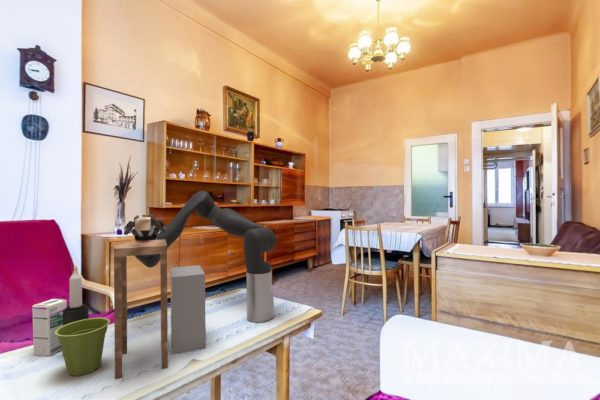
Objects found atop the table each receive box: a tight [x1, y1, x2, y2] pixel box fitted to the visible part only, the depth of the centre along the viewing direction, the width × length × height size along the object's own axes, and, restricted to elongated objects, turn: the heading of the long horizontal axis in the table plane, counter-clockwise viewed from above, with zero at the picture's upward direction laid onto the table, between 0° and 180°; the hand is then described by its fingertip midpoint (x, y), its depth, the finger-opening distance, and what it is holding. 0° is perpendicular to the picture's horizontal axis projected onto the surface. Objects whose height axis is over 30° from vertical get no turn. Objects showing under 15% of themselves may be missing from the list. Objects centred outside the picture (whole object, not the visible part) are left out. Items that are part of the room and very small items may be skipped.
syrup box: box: [31, 298, 68, 357], centre depth 91 cm, size 6×6×14 cm
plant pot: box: [55, 317, 111, 377], centre depth 81 cm, size 12×12×11 cm
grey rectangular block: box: [169, 264, 207, 355], centre depth 97 cm, size 9×14×22 cm, turn 25°
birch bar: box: [134, 216, 151, 231], centre depth 98 cm, size 4×24×3 cm, turn 25°
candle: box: [63, 265, 90, 326], centre depth 90 cm, size 5×5×25 cm
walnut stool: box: [113, 239, 169, 380], centre depth 86 cm, size 12×15×32 cm
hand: (144, 217), depth 102 cm, fingers closed on birch bar, 3 cm apart
